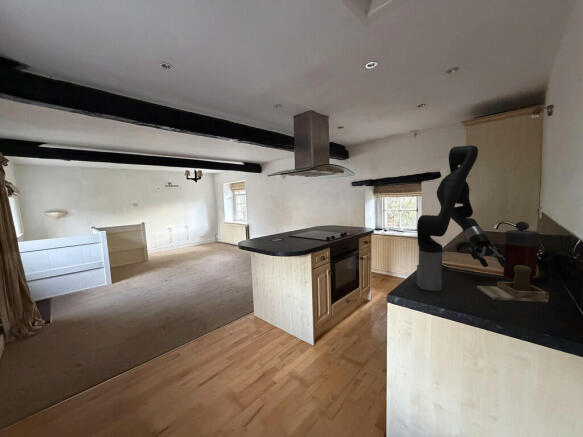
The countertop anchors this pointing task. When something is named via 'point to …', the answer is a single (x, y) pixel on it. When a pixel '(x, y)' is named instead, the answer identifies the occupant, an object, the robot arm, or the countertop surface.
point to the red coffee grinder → (521, 249)
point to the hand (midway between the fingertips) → (495, 266)
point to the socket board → (514, 293)
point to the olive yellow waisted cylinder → (521, 278)
